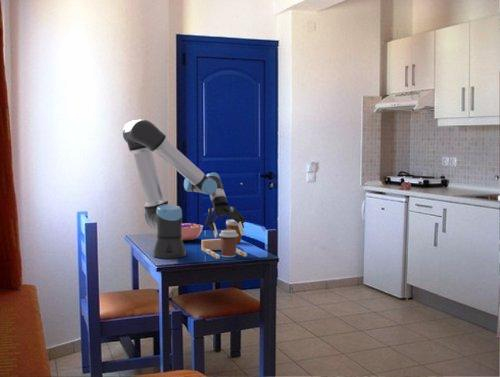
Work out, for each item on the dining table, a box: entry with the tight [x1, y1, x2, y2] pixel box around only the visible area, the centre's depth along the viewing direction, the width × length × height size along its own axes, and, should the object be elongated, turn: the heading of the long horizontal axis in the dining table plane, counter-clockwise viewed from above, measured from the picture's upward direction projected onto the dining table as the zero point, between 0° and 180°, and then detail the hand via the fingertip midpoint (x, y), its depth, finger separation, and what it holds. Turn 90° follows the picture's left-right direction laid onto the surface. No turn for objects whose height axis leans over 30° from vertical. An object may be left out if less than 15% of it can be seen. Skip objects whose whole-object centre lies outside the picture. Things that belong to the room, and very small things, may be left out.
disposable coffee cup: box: [225, 218, 242, 245], centre depth 311 cm, size 10×10×12 cm
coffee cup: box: [218, 229, 238, 258], centre depth 276 cm, size 9×9×12 cm
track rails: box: [202, 247, 248, 260], centre depth 282 cm, size 20×15×2 cm
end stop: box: [200, 238, 222, 252], centre depth 293 cm, size 3×15×5 cm, turn 113°
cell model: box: [182, 222, 204, 242], centre depth 317 cm, size 17×20×11 cm
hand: (229, 235), depth 282 cm, fingers open, 13 cm apart
